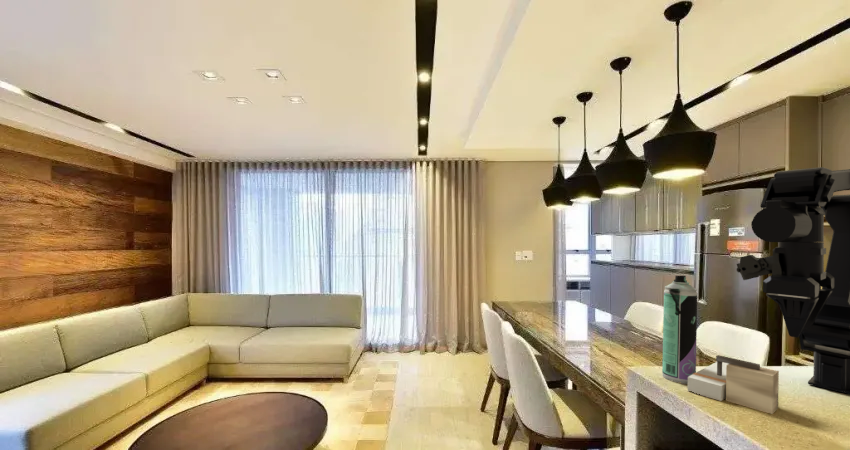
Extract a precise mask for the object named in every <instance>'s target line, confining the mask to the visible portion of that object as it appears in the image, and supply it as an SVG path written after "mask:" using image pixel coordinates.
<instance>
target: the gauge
mask: <svg viewBox="0 0 850 450" xmlns="http://www.w3.org/2000/svg"><path fill="white" fill-rule="evenodd" d="M715 362H717V375H719V376H722V362H724V363H728V365H726V398H725V401H726V402H729V403H733V404H737V405H740V406H743V407H747V408H750V409H753V410H756V411H759V412H760V411H761V412H763V413H768V414H771V415H773V414H774V413H775V412H776V411H777V410H778V409H779V388H780V387H779V386H780V384H779V383H780V382H779V380H780V379H779V377H780V371H779V370H776V369H770V368H766V367H762V366H761V365H760V363H756V362H751V361H747V360H743V359H738V358H737V359H736V358H734V357H733V358H732V357H727V356H723V355H720V354H718V355H716V356H715Z"/></svg>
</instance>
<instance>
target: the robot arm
mask: <svg viewBox="0 0 850 450" xmlns="http://www.w3.org/2000/svg"><path fill="white" fill-rule="evenodd" d="M842 191H850V169H837V170H836V169H835V170H832V169H830V168H827V167H824V166H821V167H820V166H819V167H810V168H801V169H800V168H799V169H798V168H797V169H789V170H780V171H779V170H778V171H777V172H775V173H774V174H773V178H770V180H769V182H768V185H767V187H766V189H765V192H764V195H763V198H762V200H761V204H760V208H761V210H759V211H758V212H757V213H756V214H754V216H753V219H752V220H751V230H752V231H753V233H754V235H755V236H756V237H757V238H759V239H760V240H762V241H764V242H767V243H777V246H776V247H774V248H773V249H772V255H769V256H766V257H765V256H764V257H761V258H757V257H756V256H755V255H753V254H748V255H744V256H741V257H740V258H739V263H736V267H737V268H736V272H737V273H740V276H741V278H742V280H743V281H747V280H751V279H755V278H756V279H757V278H759V277H761V276H765V275H770V276H767V278H765V279H764V280H762V292H763V293H766V294H765V295H766V297H768V298H770V299H771V300H773V301H774V302H775V303H777V305H778V306H779V308H780V312H781V313H782V317H783V319H784V324H785V327H786V330H787V332H788V336H789V337H790V338H791V337H792V338H799V344H800V349H801V350H804V351H810V352H813V376H812V377H811V378H810V379H809V380H808V382H807V384H808V385H810V386H815V387H818V388H823V389H827V390H831V391H835V392H839V393H843V394H844V393H845V394H848V395H850V194H837V195H836V194H834V193H835V192H842ZM824 220H825V221H826V223H827V224H828V225H829V227H830V228H831V230H833V232H832V238H831V242H830V245H829V252H828V257H827V260H826V261H827V262H826V265H824V264H825V260H824V257H825V255H827V248H826V247H825V243H824V242H825V240H824V239H825V237H824V235H825V234H824V232H825V231H824V230H825V229H824V226H825V225H824V224H825V223H824V222H825V221H824ZM824 266H826V267H825V268H824ZM824 269H825V270H824Z"/></svg>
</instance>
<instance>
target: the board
mask: <svg viewBox="0 0 850 450" xmlns="http://www.w3.org/2000/svg"><path fill="white" fill-rule="evenodd" d="M726 365H728V363H724V362H722V376H719V375H717V361H715V362H714V363H711V364H710V365H708V366H706V367H704V368H702V369H700V370H697V371H696V373H693V374H692V375H690V376H689V377H688V383H687V390H688V391H687V392H689V391H692V392H694V393H693V394H696V393H697V395H699V394H700V396H703V397H707V398H709V399H714V400H717V401H719V402H722V401H723V400H726ZM692 392H691V393H692Z"/></svg>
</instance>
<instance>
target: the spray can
mask: <svg viewBox="0 0 850 450" xmlns="http://www.w3.org/2000/svg"><path fill="white" fill-rule="evenodd" d="M686 276H687V275H675V276H674V277H675V279H673V280H672V282H671V283H669V284H668V285H665V286H664V291H663V321H662V322H663V323H662V324H663V327H662V328H663V329H662V330H663V331H662V363H661V364H662V369H661V370H662V371H661V372H662V373H661V375H662V377H663V378H665V379H666V380H669V381H671V382H675V383H679V382H681V383H680V384H688V377H689V376H690V375H692V374H693V373H696V372H697V371H696V370H697V331H698V330H697V327H698V326H697V325H698V324H697V323H698V318H697V317H698V293H697V290H698V289H697V288H695V287H694V286H692V285H691V284H690V282H689V281H688V280H687V277H686Z"/></svg>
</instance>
